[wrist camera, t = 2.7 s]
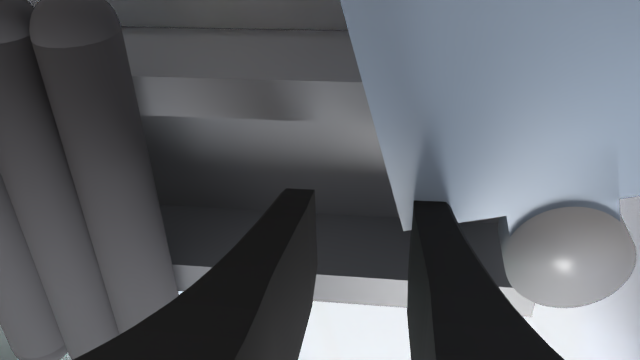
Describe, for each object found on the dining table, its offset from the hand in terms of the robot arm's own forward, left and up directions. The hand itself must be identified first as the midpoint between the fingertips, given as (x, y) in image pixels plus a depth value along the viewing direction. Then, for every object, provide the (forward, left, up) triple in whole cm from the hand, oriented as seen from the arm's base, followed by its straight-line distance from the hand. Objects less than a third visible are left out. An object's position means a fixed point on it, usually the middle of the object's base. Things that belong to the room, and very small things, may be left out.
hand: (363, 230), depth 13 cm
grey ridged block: (+7, 0, -1) cm, 7 cm away
